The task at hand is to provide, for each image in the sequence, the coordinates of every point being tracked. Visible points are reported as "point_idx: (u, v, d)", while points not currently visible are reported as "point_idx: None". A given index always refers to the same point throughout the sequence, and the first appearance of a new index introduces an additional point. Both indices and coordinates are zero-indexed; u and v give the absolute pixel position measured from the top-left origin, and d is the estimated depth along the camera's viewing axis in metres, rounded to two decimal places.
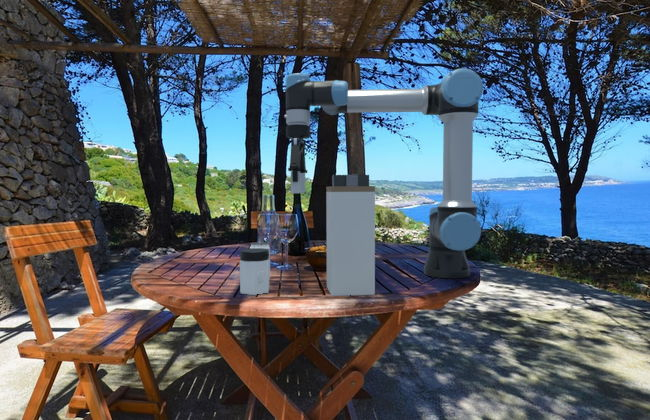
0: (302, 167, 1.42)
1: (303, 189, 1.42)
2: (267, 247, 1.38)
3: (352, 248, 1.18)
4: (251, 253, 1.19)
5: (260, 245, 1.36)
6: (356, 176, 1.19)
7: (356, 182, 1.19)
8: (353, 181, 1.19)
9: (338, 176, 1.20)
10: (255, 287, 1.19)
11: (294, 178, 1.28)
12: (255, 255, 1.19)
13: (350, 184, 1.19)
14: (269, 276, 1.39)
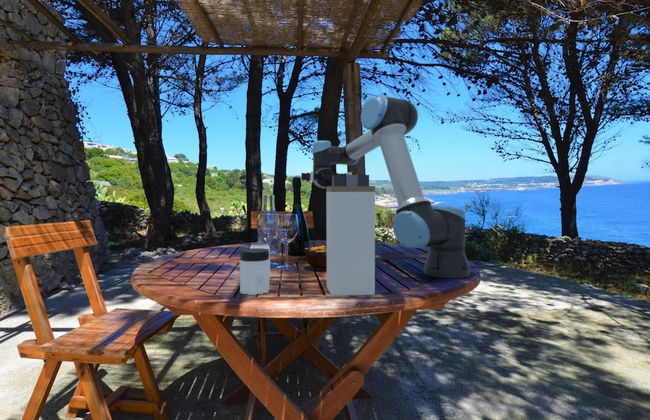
0: None
1: (349, 173, 1.53)
2: (267, 247, 1.38)
3: (352, 248, 1.18)
4: (251, 253, 1.19)
5: (260, 245, 1.36)
6: (356, 176, 1.19)
7: (356, 182, 1.19)
8: (353, 181, 1.19)
9: (338, 176, 1.20)
10: (255, 287, 1.19)
11: (306, 176, 1.54)
12: (255, 255, 1.19)
13: (350, 184, 1.19)
14: (269, 276, 1.39)
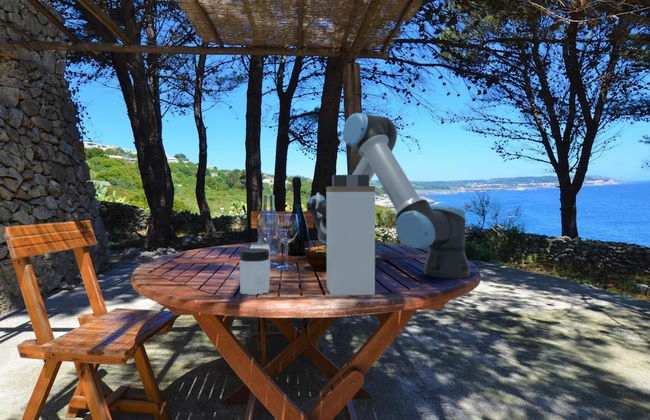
0: None
1: None
2: (267, 247, 1.38)
3: (352, 248, 1.18)
4: (251, 253, 1.19)
5: (260, 245, 1.36)
6: (356, 176, 1.19)
7: (356, 182, 1.19)
8: (353, 181, 1.19)
9: (338, 176, 1.20)
10: (255, 287, 1.19)
11: (312, 202, 1.48)
12: (255, 255, 1.19)
13: (350, 184, 1.19)
14: (269, 276, 1.39)
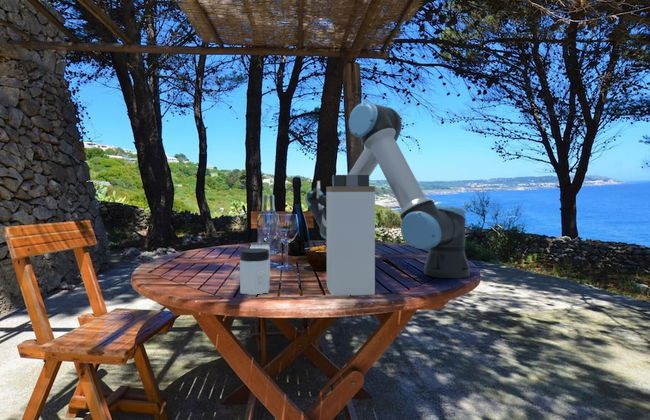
0: None
1: None
2: (267, 247, 1.38)
3: (352, 248, 1.18)
4: (251, 253, 1.19)
5: (260, 245, 1.36)
6: (356, 176, 1.19)
7: (356, 182, 1.19)
8: (353, 181, 1.19)
9: (338, 176, 1.20)
10: (255, 287, 1.19)
11: (313, 191, 1.40)
12: (255, 255, 1.19)
13: (350, 184, 1.19)
14: (269, 276, 1.39)
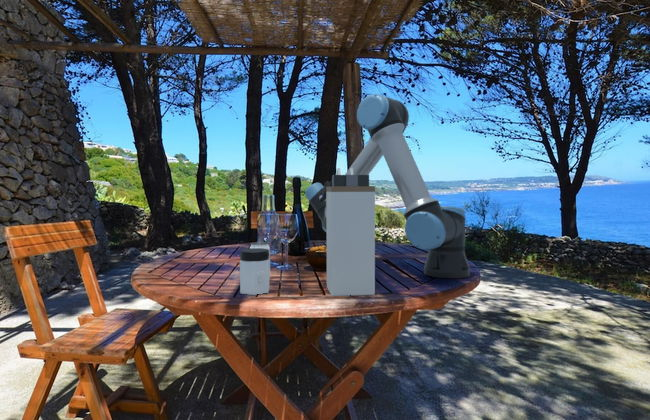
0: None
1: (349, 171, 1.32)
2: (267, 247, 1.38)
3: (352, 248, 1.18)
4: (251, 253, 1.19)
5: (260, 245, 1.36)
6: (356, 176, 1.19)
7: (356, 182, 1.19)
8: (353, 181, 1.19)
9: (338, 176, 1.20)
10: (255, 287, 1.19)
11: None
12: (255, 255, 1.19)
13: (350, 184, 1.19)
14: (269, 276, 1.39)
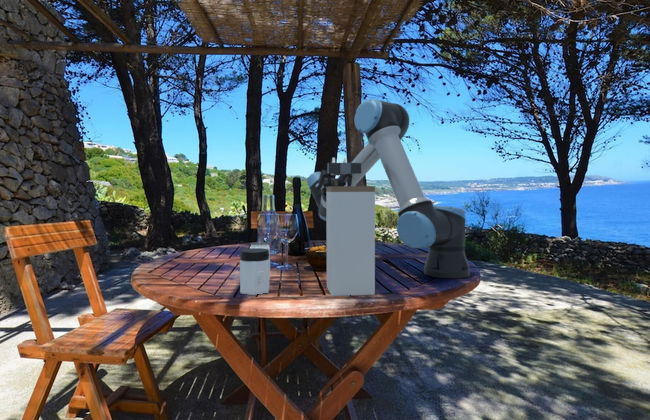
0: None
1: None
2: (267, 247, 1.38)
3: (352, 248, 1.18)
4: (251, 253, 1.19)
5: (260, 245, 1.36)
6: (349, 164, 1.30)
7: (349, 169, 1.30)
8: (346, 168, 1.30)
9: (333, 164, 1.31)
10: (255, 287, 1.19)
11: None
12: (255, 255, 1.19)
13: (344, 171, 1.30)
14: (269, 276, 1.39)
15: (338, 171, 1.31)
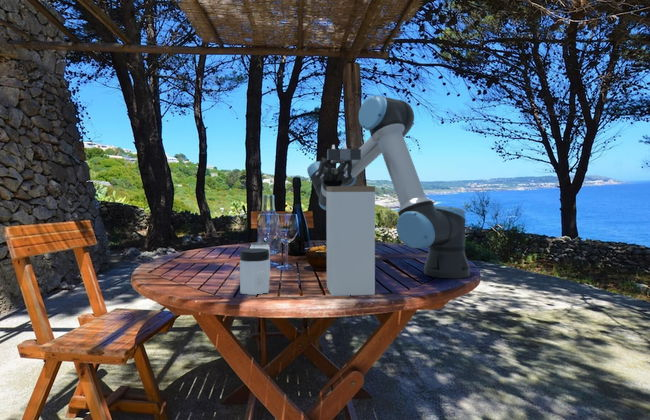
0: None
1: (343, 148, 1.43)
2: (267, 247, 1.38)
3: (352, 248, 1.18)
4: (251, 253, 1.19)
5: (260, 245, 1.36)
6: (349, 150, 1.31)
7: (349, 155, 1.31)
8: (346, 154, 1.31)
9: (332, 150, 1.31)
10: (255, 287, 1.19)
11: None
12: (255, 255, 1.19)
13: (343, 157, 1.31)
14: (269, 276, 1.39)
15: (338, 157, 1.31)
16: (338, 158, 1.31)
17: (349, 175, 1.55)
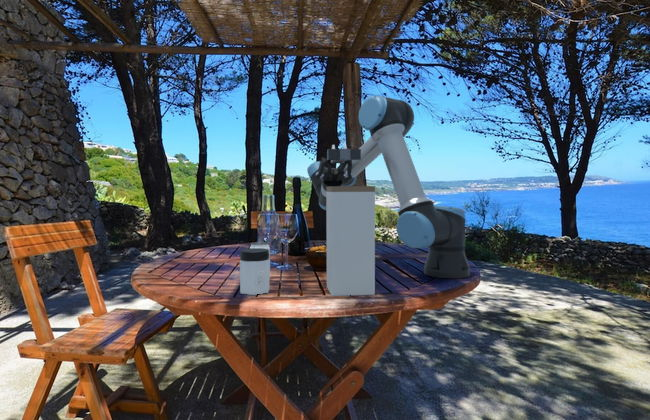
0: None
1: (343, 148, 1.43)
2: (267, 247, 1.38)
3: (352, 248, 1.18)
4: (251, 253, 1.19)
5: (260, 245, 1.36)
6: (349, 150, 1.31)
7: (349, 155, 1.31)
8: (346, 154, 1.31)
9: (332, 150, 1.31)
10: (255, 287, 1.19)
11: None
12: (255, 255, 1.19)
13: (343, 157, 1.31)
14: (269, 276, 1.39)
15: (338, 157, 1.31)
16: (338, 158, 1.31)
17: (349, 175, 1.55)
